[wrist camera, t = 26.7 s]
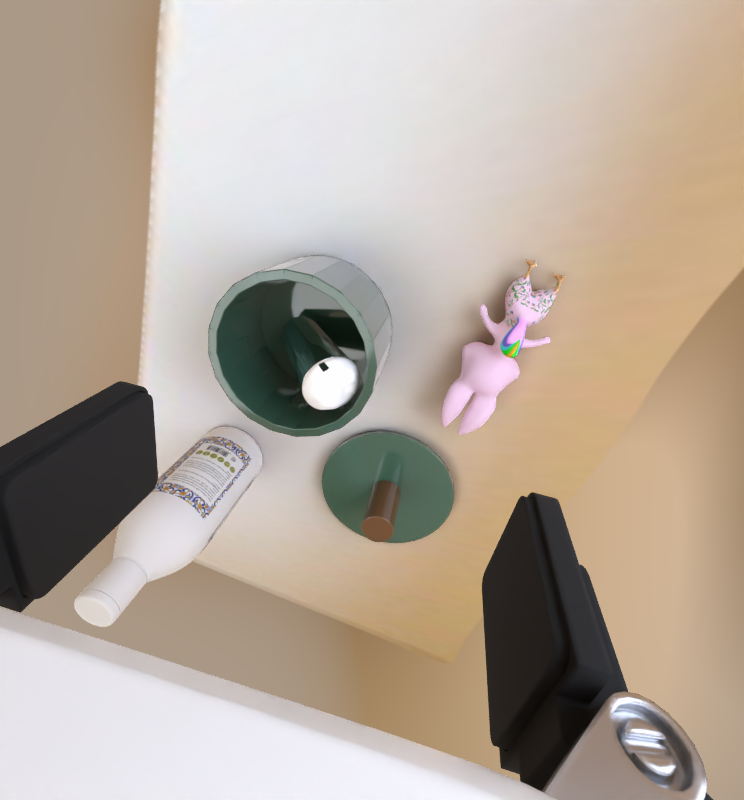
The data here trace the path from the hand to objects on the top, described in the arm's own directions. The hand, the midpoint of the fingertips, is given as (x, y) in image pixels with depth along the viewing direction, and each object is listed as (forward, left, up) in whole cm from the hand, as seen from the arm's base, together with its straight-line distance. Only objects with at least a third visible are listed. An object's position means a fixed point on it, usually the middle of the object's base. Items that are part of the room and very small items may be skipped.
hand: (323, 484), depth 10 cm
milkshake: (+5, -9, -26) cm, 28 cm away
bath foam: (+21, -15, -28) cm, 38 cm away
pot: (+5, -7, -27) cm, 29 cm away
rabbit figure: (+4, +8, -28) cm, 29 cm away
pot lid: (+20, +2, -27) cm, 34 cm away
